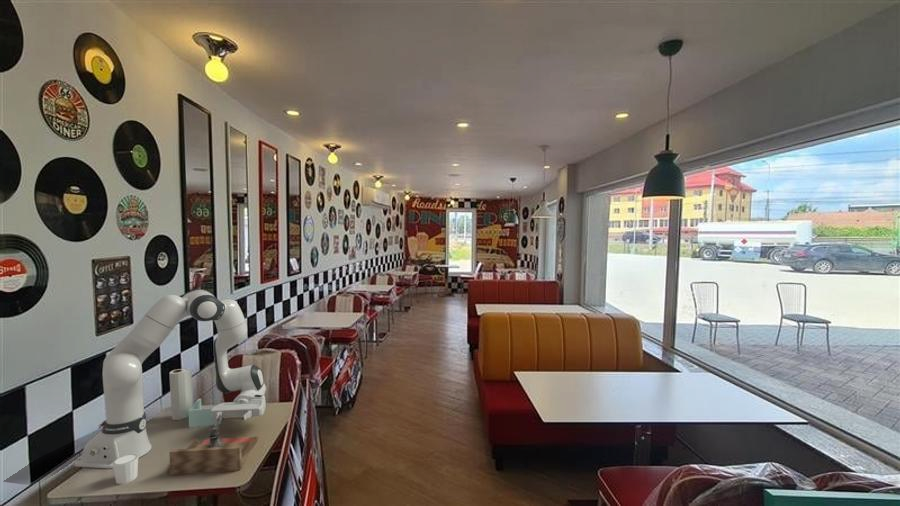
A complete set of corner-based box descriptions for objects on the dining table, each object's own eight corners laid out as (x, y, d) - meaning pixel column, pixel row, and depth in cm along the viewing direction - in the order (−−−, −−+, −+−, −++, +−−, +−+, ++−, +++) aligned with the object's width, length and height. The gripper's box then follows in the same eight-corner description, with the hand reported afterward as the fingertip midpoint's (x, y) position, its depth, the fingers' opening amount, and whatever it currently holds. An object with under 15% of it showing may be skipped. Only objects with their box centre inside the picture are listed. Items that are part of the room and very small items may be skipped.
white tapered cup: (108, 484, 134) (106, 464, 133) (127, 471, 141) (126, 452, 140) (126, 486, 133) (124, 465, 132) (144, 473, 140) (143, 454, 139)
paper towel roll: (168, 420, 178) (165, 372, 176) (180, 413, 184) (177, 368, 182) (182, 421, 176) (179, 373, 175) (193, 415, 182) (191, 368, 181)
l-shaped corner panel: (220, 424, 174) (219, 407, 173) (189, 427, 171) (188, 410, 170) (228, 411, 185) (227, 395, 185) (199, 414, 182) (198, 398, 182)
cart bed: (170, 474, 139) (169, 452, 139) (202, 441, 160) (201, 422, 159) (240, 470, 141) (239, 448, 141) (262, 438, 162) (261, 419, 162)
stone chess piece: (216, 460, 145) (214, 428, 144) (202, 458, 146) (200, 426, 145) (228, 451, 150) (226, 420, 149) (214, 449, 152) (213, 418, 151)
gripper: (218, 397, 172) (202, 412, 158) (268, 395, 174) (256, 410, 160) (219, 411, 172) (203, 428, 159) (269, 409, 174) (257, 425, 161)
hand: (230, 419), depth 159 cm, fingers open, 8 cm apart
